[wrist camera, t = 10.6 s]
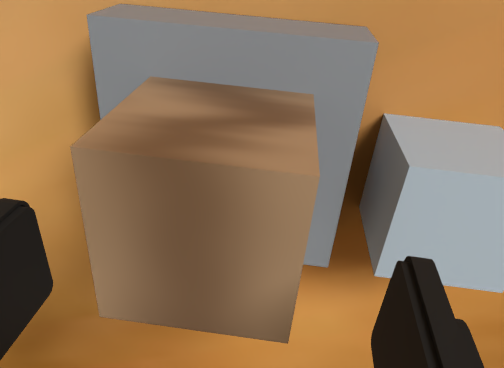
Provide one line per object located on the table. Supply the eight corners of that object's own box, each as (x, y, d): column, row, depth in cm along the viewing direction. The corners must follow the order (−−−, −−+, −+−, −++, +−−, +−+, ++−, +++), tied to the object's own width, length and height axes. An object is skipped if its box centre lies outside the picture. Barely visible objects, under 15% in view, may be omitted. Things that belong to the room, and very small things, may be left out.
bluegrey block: (499, 126, 18) (563, 184, 13) (459, 218, 20) (502, 292, 16) (383, 112, 18) (409, 166, 14) (358, 206, 20) (374, 276, 16)
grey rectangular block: (366, 27, 16) (378, 43, 13) (324, 228, 21) (327, 267, 19) (120, 3, 16) (86, 14, 14) (138, 205, 22) (116, 240, 19)
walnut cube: (313, 94, 15) (319, 176, 9) (292, 227, 18) (287, 343, 13) (150, 76, 15) (70, 146, 10) (157, 210, 18) (99, 316, 13)
